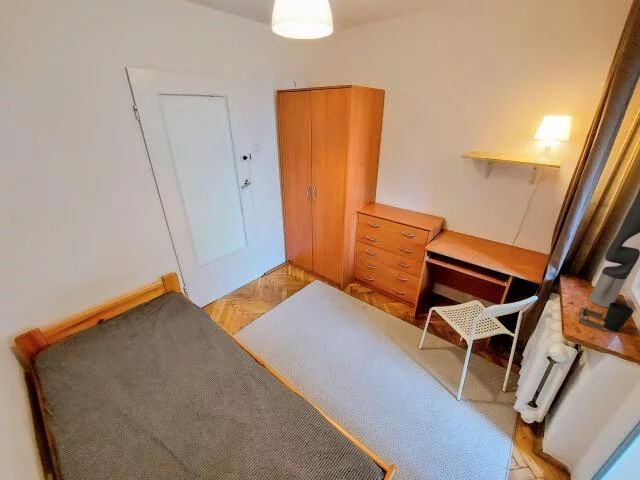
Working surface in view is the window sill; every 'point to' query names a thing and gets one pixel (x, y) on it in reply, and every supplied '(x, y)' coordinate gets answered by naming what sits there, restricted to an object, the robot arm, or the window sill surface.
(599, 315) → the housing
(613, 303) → the cup
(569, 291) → the window sill surface
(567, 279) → the window sill surface
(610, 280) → the robot arm
